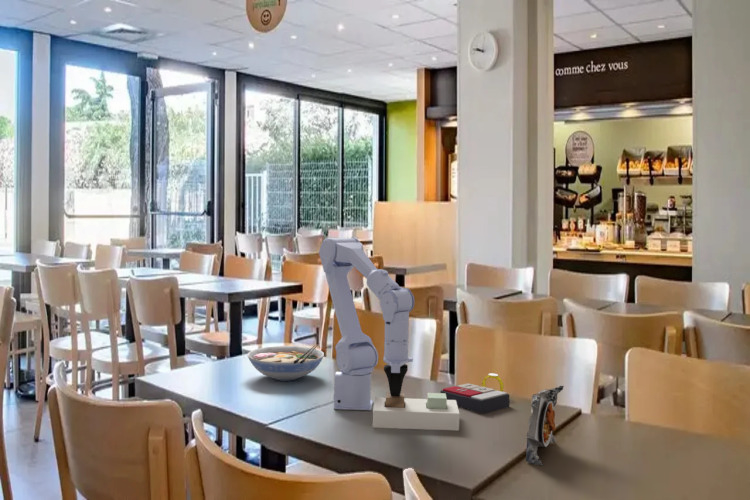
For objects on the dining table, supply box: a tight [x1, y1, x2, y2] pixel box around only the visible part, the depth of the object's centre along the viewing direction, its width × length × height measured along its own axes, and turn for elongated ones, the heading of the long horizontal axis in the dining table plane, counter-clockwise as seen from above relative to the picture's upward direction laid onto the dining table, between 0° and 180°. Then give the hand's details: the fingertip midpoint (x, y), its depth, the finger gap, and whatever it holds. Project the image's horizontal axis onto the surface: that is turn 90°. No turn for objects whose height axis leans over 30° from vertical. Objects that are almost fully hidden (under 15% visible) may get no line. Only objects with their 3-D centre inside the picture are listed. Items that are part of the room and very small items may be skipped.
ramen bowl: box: [247, 345, 325, 382], centre depth 200 cm, size 25×23×8 cm
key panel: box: [372, 396, 460, 431], centre depth 161 cm, size 20×11×4 cm, turn 87°
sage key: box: [426, 392, 447, 409], centre depth 161 cm, size 4×4×4 cm
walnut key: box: [385, 392, 405, 408], centre depth 161 cm, size 4×4×4 cm
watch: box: [481, 372, 505, 392], centre depth 186 cm, size 6×3×6 cm, turn 53°
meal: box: [525, 385, 565, 466], centre depth 142 cm, size 15×4×13 cm, turn 153°
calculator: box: [439, 382, 510, 415], centre depth 178 cm, size 11×4×15 cm
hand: (395, 395), depth 161 cm, fingers closed, pressing on walnut key
